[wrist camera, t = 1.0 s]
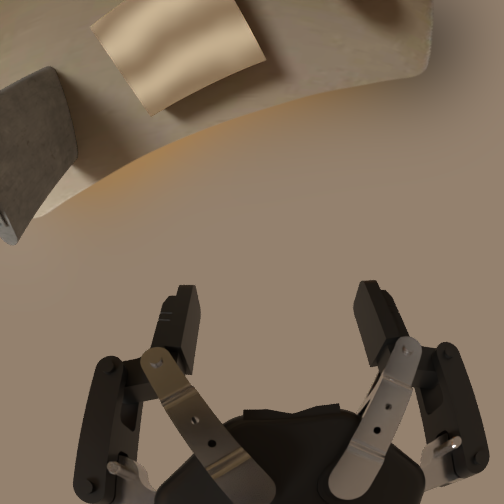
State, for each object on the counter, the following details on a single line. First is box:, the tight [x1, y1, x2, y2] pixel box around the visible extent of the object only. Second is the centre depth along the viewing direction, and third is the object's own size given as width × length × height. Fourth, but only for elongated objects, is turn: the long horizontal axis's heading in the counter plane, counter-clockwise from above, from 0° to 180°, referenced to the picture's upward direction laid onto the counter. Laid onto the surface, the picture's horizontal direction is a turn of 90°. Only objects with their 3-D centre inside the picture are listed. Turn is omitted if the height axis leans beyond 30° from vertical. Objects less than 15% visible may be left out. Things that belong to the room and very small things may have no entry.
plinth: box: [90, 0, 266, 117], centre depth 22 cm, size 14×14×4 cm
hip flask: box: [0, 66, 78, 245], centre depth 22 cm, size 16×4×20 cm, turn 1°
